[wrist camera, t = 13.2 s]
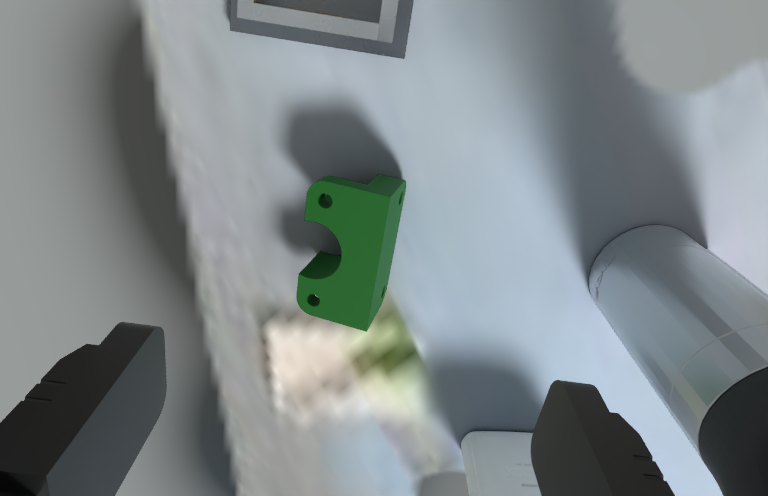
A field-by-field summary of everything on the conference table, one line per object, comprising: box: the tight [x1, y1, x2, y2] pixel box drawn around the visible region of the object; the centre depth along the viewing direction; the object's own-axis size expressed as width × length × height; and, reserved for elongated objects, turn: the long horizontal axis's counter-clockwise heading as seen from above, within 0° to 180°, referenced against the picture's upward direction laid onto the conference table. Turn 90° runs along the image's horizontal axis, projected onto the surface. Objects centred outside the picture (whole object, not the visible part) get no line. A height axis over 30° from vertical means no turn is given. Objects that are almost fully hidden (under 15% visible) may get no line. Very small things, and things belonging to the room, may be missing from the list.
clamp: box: [297, 174, 406, 332], centre depth 40 cm, size 12×6×9 cm, turn 164°
